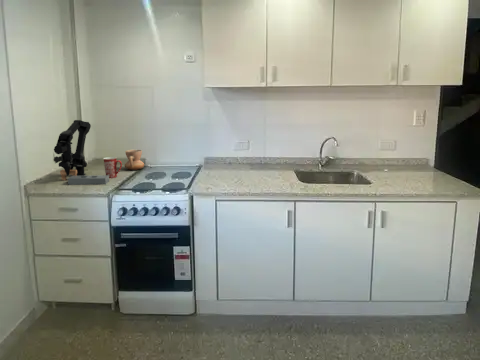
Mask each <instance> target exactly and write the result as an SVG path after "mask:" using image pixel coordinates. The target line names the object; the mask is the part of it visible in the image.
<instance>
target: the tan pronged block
mask: <svg viewBox="0 0 480 360" xmlns="http://www.w3.org/2000/svg"><path fill="white" fill-rule="evenodd" d="M59 173H60V175H61V181H66V180H68V178H67V174H66V172H65V170H64V169H61V170H60V171H59ZM68 176H77V170H76V169H73V170H70V172H69V175H68Z"/></svg>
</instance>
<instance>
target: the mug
mask: <svg viewBox="0 0 480 360" xmlns="http://www.w3.org/2000/svg"><path fill="white" fill-rule="evenodd" d="M102 159H103V166H104V172H105V175H109V179H115V178H117V177H118V174H119V172H120V171H121V169H122V166H123V164H122V163H123V162H122V161H121V160H117V156H108V157H107V156H106V157H103V158H102ZM118 163H119V164H120V167H119V168H117V167H118V166H117V164H118ZM117 169H118V170H117Z"/></svg>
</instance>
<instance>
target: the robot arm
mask: <svg viewBox="0 0 480 360" xmlns="http://www.w3.org/2000/svg"><path fill="white" fill-rule="evenodd" d="M91 127H92V125H91V123H90V122H89V121H83V120H81V119H75V120H73V121H72V123H71V125H70V126H69V127H68V128H67V129H66V130H63V131H62V132H61V133H60V134H59V135H58V138H57V142H56V143H55V144H56V145H54V148H53V151H54V153H55V154H56V155H60V156H54V158H53V162H54V163H55V164H58V167H59V168H62V169H63V170H65V172H66V174H67V175H66V177H67V176H70V175H69V172H70V170H74V168H75V170H77V176H87V173H85V168H86V167H87V166H88V163H87V161H86V159H85V155H84V148H85V143H86V139H87V137H86V136H87V134H88V133H89V132H90V129H91ZM77 131H78V136H77V142H76V148H75V151H74V152H73V151H72V145H73V142H72V141H73V139H74V134H75V133H76V132H77Z"/></svg>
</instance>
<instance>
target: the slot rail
mask: <svg viewBox="0 0 480 360" xmlns="http://www.w3.org/2000/svg"><path fill="white" fill-rule="evenodd" d="M109 182H110V178H109V175H106V174H104V175H99V174H98V175H94V174H93V175H92V174H91V175H84V176H72V175H70V176H69V177H68V178H67V185H69V186H71V185H74V186H79V185H80V186H81V185H89V186H90V185H107V184H108V183H109Z"/></svg>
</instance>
